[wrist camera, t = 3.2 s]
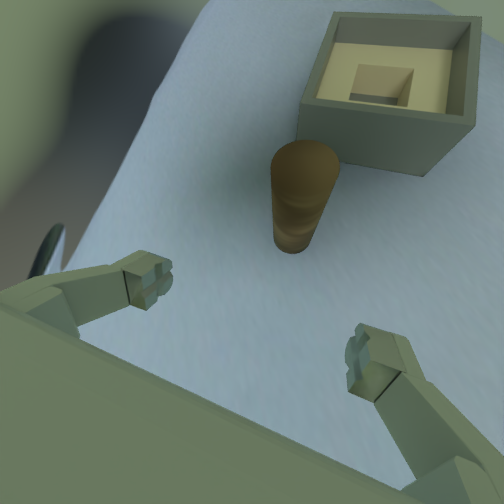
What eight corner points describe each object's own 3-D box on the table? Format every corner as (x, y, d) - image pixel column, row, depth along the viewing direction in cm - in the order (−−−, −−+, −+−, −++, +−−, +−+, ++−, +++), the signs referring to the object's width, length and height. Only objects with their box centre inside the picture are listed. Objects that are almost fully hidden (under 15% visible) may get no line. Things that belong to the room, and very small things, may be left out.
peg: (314, 224, 25) (346, 145, 13) (305, 258, 24) (331, 202, 12) (279, 216, 26) (281, 135, 14) (268, 247, 25) (261, 187, 13)
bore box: (435, 85, 29) (482, 16, 23) (423, 176, 25) (475, 125, 18) (322, 74, 32) (333, 11, 26) (294, 153, 28) (300, 103, 22)
